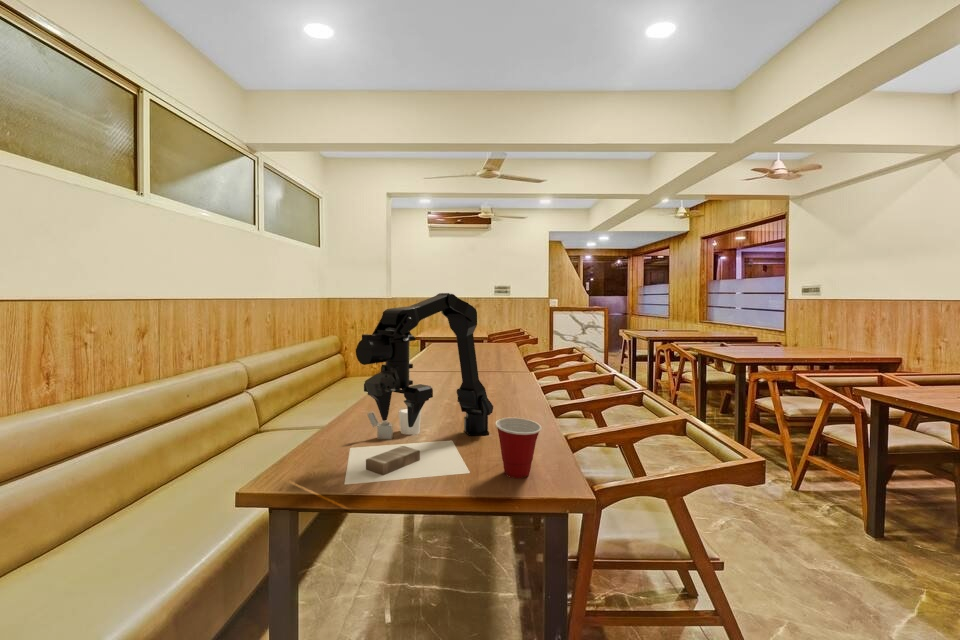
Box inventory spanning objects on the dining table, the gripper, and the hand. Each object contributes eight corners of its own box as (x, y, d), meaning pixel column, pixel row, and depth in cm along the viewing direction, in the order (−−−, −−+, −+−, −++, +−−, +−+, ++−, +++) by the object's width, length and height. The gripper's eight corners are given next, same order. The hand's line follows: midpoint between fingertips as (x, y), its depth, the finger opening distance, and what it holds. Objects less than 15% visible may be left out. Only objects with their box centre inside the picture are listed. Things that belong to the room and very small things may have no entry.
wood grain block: (403, 445, 111) (365, 458, 102) (419, 449, 108) (382, 464, 98) (403, 454, 111) (365, 469, 102) (419, 460, 108) (383, 475, 98)
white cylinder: (425, 431, 133) (425, 409, 133) (413, 437, 127) (413, 414, 126) (407, 428, 136) (407, 406, 136) (394, 434, 130) (394, 411, 129)
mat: (452, 441, 123) (452, 440, 123) (470, 474, 100) (470, 472, 100) (350, 449, 117) (350, 447, 117) (344, 486, 93) (344, 484, 93)
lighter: (392, 438, 126) (392, 411, 126) (391, 440, 124) (391, 413, 124) (369, 437, 126) (369, 411, 126) (367, 439, 125) (366, 412, 124)
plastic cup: (528, 487, 93) (529, 433, 93) (486, 476, 99) (486, 425, 98) (548, 471, 102) (549, 421, 102) (508, 461, 108) (508, 414, 108)
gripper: (345, 360, 104) (345, 424, 104) (399, 367, 93) (399, 439, 93) (381, 356, 113) (381, 415, 113) (434, 362, 102) (434, 427, 102)
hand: (397, 423), depth 105 cm, fingers open, 9 cm apart
